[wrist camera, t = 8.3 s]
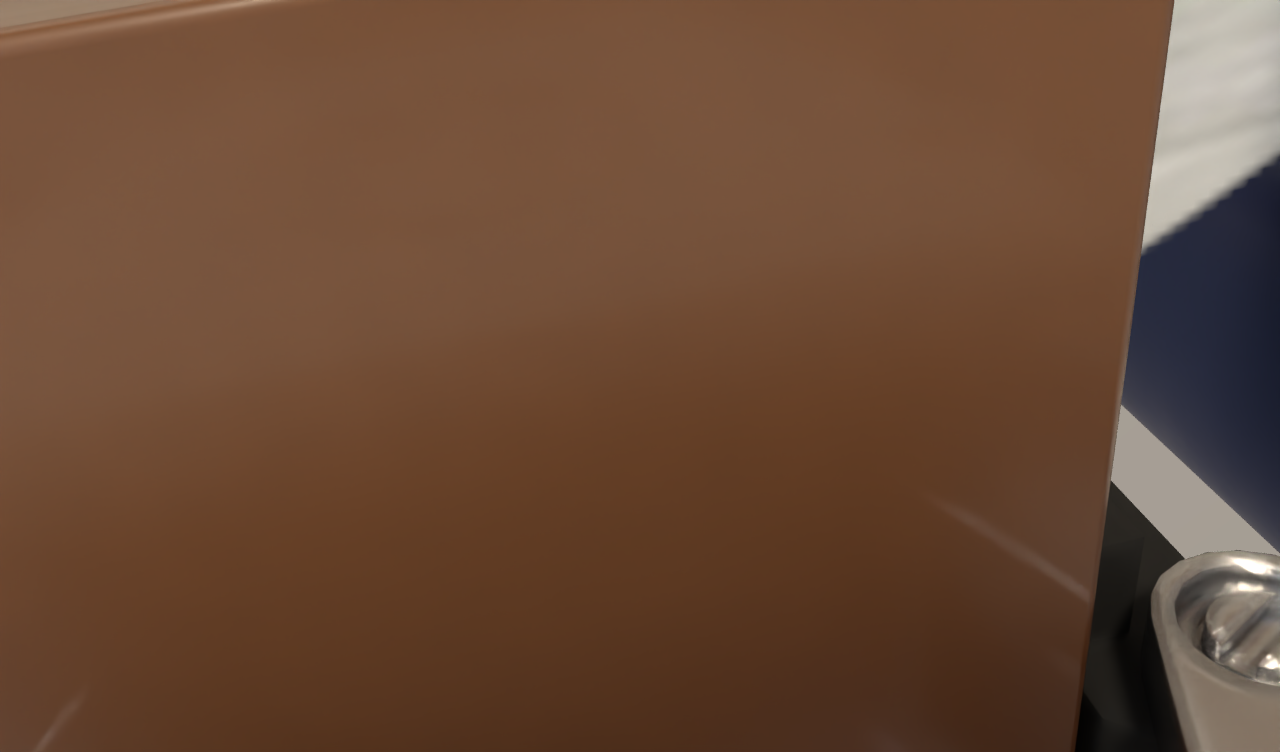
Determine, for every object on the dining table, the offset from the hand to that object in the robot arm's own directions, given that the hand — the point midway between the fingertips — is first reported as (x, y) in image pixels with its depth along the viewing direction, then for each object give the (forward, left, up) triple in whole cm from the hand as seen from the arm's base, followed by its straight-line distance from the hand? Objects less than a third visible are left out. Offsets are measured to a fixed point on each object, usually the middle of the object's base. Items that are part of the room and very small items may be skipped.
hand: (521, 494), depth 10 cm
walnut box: (0, 0, -1) cm, 1 cm away
